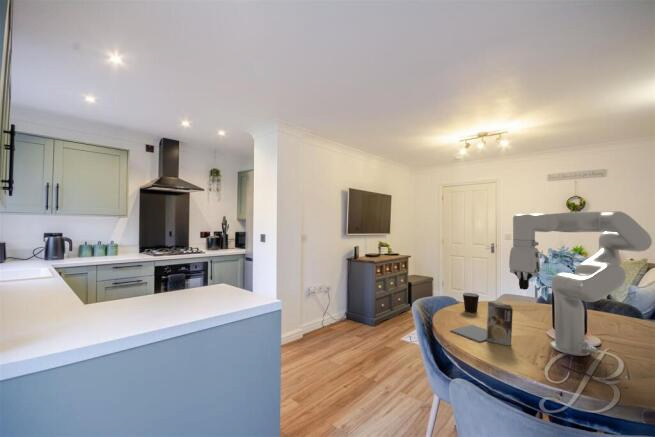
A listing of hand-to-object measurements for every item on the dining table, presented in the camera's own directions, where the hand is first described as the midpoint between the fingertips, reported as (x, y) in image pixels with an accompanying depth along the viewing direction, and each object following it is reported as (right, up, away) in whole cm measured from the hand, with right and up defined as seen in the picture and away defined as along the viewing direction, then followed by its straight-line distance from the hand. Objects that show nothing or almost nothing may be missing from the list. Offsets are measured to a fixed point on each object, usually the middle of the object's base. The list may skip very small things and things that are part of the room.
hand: (523, 288), depth 121 cm
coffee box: (-5, -26, +10) cm, 28 cm away
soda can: (+5, -26, +29) cm, 39 cm away
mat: (-10, -26, +19) cm, 34 cm away
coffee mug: (+3, -26, +53) cm, 59 cm away
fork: (+9, -26, -19) cm, 34 cm away
